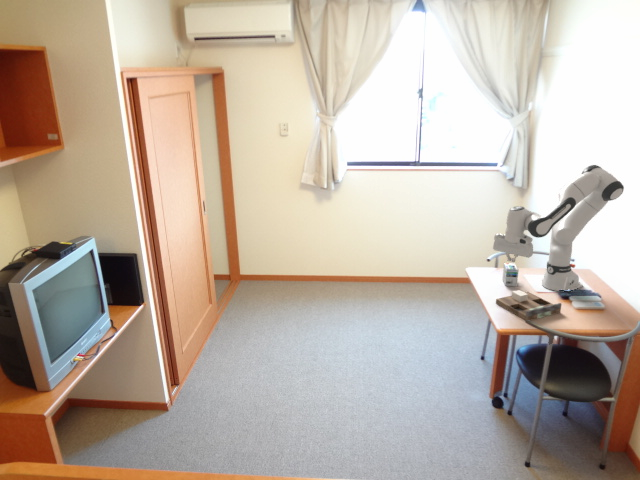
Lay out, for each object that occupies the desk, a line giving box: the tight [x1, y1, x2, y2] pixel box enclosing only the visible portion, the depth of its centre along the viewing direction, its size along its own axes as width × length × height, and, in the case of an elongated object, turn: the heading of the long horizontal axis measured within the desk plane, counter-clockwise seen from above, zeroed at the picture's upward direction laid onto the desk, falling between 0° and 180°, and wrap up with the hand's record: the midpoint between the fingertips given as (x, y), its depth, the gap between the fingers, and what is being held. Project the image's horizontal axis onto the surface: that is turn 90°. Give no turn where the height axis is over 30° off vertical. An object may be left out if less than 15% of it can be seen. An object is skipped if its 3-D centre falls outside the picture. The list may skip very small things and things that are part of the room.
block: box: [511, 289, 528, 302], centre depth 252 cm, size 5×6×4 cm
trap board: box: [495, 291, 562, 321], centre depth 247 cm, size 22×22×5 cm
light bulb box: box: [502, 262, 519, 287], centre depth 277 cm, size 11×7×11 cm, turn 168°
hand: (511, 261), depth 254 cm, fingers closed
